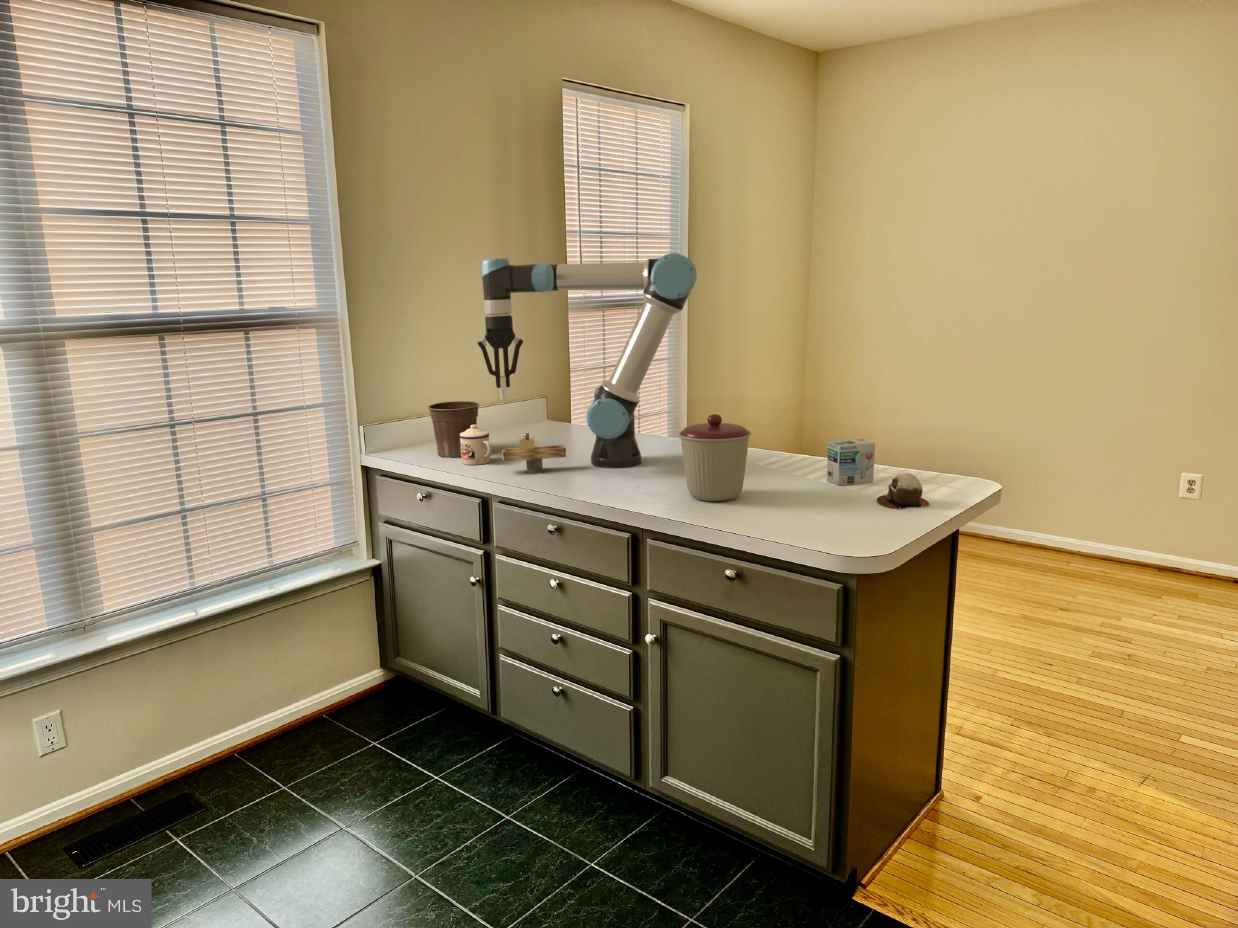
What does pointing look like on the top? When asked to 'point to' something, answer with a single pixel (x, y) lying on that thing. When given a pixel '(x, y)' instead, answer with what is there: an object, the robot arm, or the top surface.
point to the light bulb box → (850, 462)
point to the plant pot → (452, 424)
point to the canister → (714, 459)
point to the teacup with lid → (475, 446)
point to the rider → (526, 442)
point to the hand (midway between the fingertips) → (503, 399)
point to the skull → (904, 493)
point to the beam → (534, 456)
